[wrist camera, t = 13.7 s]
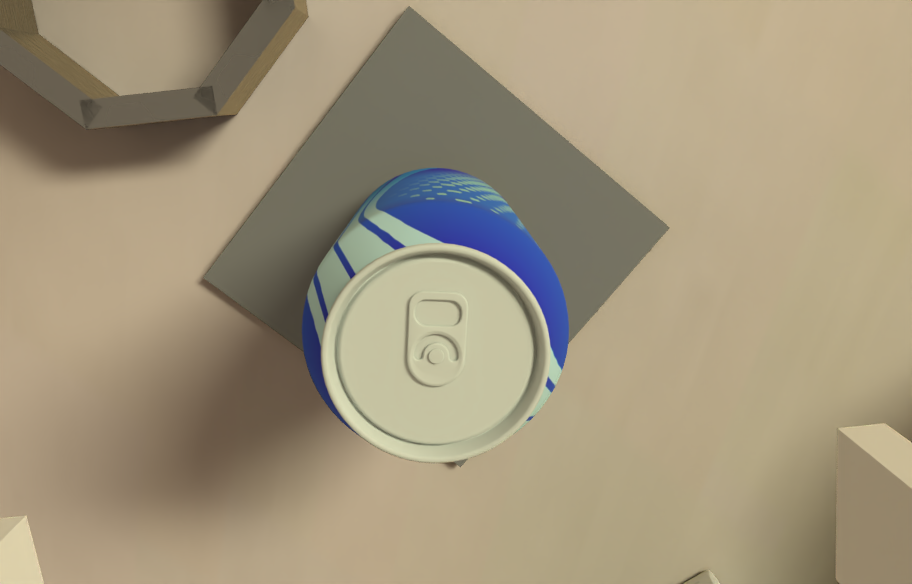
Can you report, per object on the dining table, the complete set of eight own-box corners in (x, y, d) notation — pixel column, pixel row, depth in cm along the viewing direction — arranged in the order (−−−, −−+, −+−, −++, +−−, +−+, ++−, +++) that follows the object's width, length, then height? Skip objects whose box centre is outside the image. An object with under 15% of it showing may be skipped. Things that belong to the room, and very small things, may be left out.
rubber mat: (409, 7, 36) (408, 6, 35) (666, 226, 38) (669, 227, 38) (206, 275, 38) (203, 277, 38) (460, 462, 41) (460, 467, 41)
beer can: (558, 247, 38) (643, 347, 22) (441, 370, 39) (446, 544, 24) (429, 127, 37) (424, 146, 21) (312, 259, 38) (226, 368, 22)
